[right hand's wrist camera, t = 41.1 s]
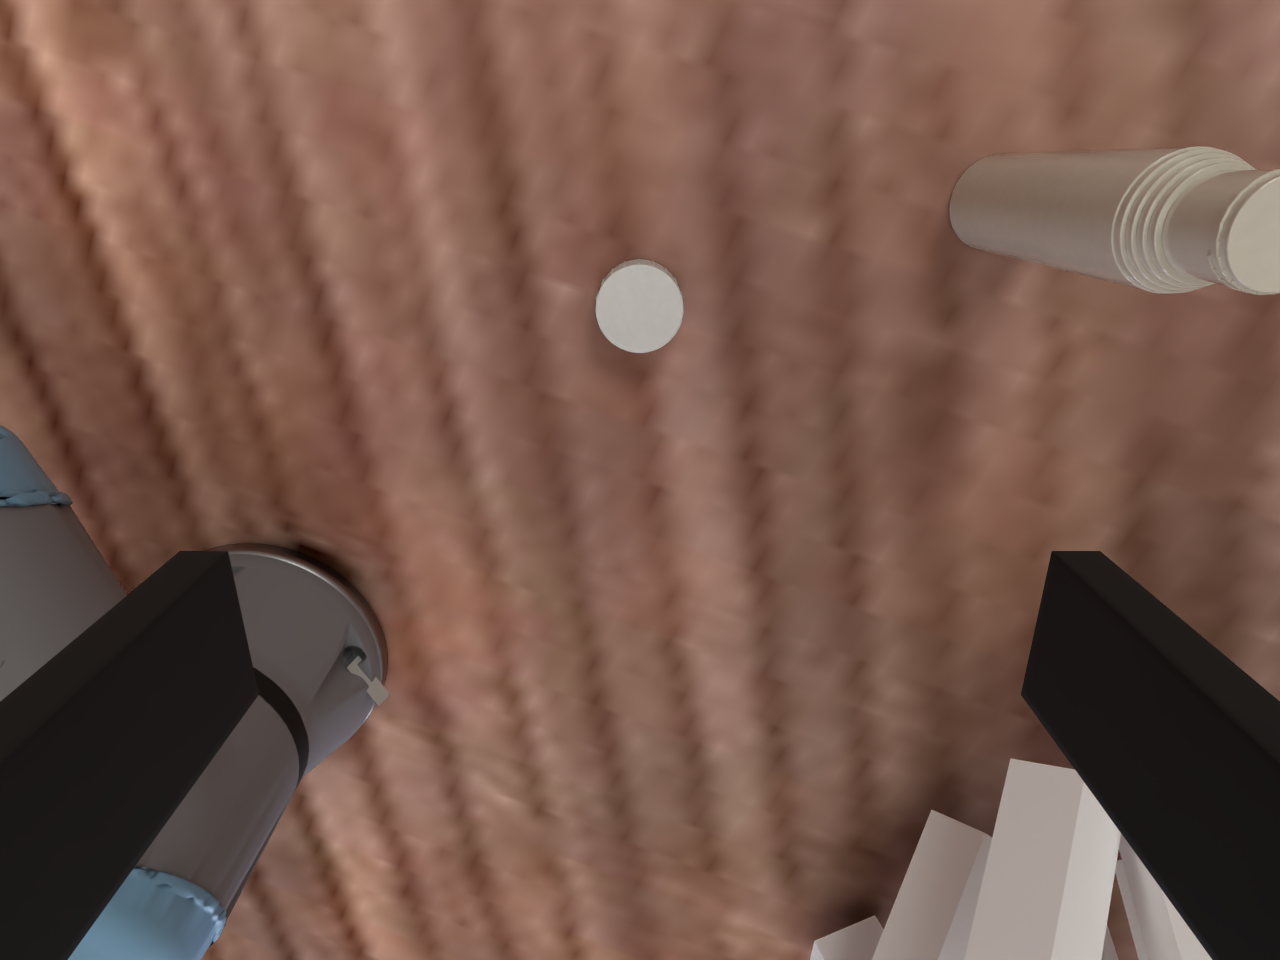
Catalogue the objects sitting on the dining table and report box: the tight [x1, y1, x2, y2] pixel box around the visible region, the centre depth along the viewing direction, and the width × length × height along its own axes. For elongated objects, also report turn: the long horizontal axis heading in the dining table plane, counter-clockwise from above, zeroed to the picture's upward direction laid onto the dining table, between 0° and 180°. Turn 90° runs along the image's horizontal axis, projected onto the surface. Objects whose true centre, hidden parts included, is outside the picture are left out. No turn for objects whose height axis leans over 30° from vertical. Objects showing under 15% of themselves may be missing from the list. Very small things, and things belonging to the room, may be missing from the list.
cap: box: [595, 258, 684, 353], centre depth 42 cm, size 5×5×2 cm
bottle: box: [949, 146, 1280, 295], centre depth 32 cm, size 5×5×20 cm
